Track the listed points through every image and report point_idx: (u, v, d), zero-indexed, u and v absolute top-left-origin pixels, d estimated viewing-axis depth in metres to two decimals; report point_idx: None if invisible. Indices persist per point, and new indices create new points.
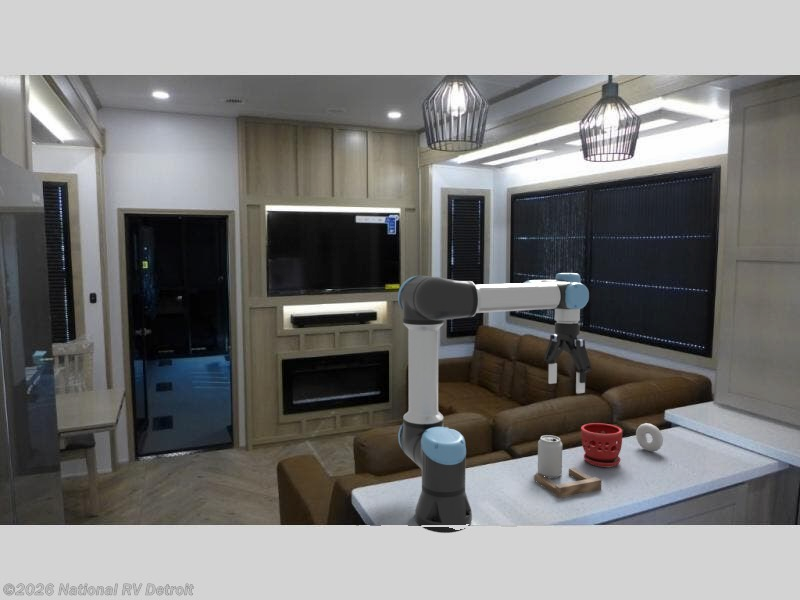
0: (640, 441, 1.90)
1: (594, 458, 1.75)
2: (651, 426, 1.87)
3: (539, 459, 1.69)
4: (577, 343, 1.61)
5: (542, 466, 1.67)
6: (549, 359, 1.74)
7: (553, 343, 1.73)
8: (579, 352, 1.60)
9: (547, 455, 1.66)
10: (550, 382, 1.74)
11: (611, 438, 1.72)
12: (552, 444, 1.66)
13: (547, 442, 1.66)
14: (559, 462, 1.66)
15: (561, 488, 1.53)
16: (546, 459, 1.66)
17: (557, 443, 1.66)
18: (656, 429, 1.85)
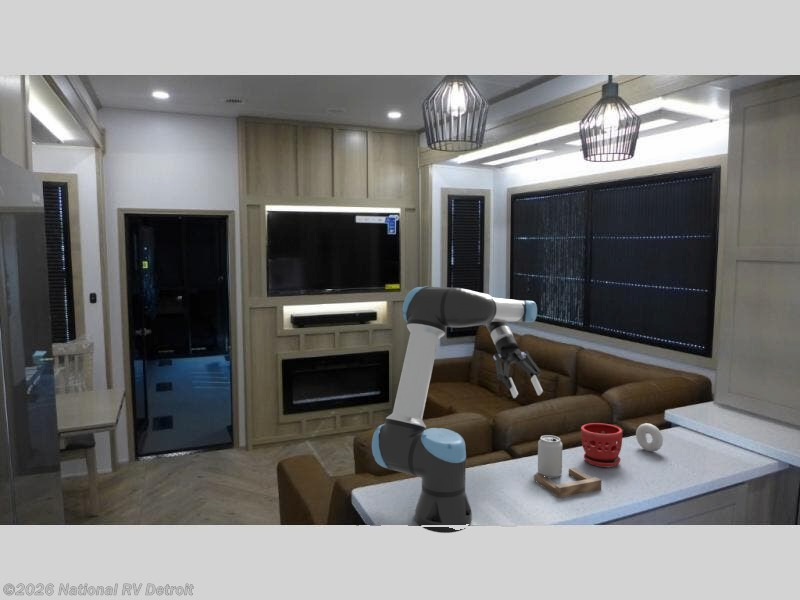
0: (640, 441, 1.90)
1: (594, 458, 1.75)
2: (651, 426, 1.87)
3: (539, 459, 1.69)
4: (527, 353, 1.90)
5: (542, 466, 1.67)
6: (507, 373, 1.82)
7: None
8: (531, 359, 1.89)
9: (547, 455, 1.66)
10: None
11: (611, 438, 1.72)
12: (552, 444, 1.66)
13: (547, 442, 1.66)
14: (559, 462, 1.66)
15: (561, 488, 1.53)
16: (546, 459, 1.66)
17: (557, 443, 1.66)
18: (656, 429, 1.85)
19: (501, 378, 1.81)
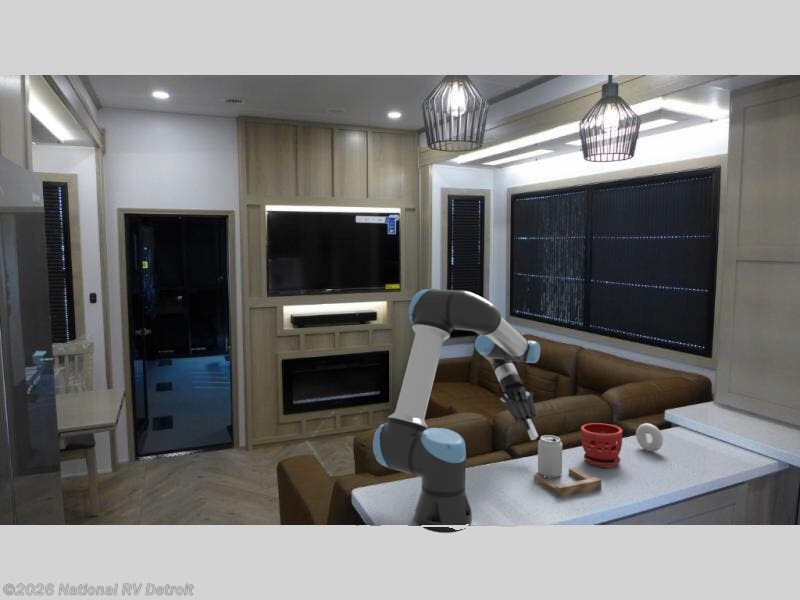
0: (640, 441, 1.90)
1: (594, 458, 1.75)
2: (651, 426, 1.87)
3: (539, 459, 1.69)
4: (531, 394, 1.88)
5: (542, 466, 1.67)
6: (523, 415, 1.82)
7: None
8: (532, 401, 1.87)
9: (547, 455, 1.66)
10: None
11: (611, 438, 1.72)
12: (552, 444, 1.66)
13: (547, 442, 1.66)
14: (559, 462, 1.66)
15: (561, 488, 1.53)
16: (546, 459, 1.66)
17: (557, 443, 1.66)
18: (656, 429, 1.85)
19: (519, 420, 1.81)
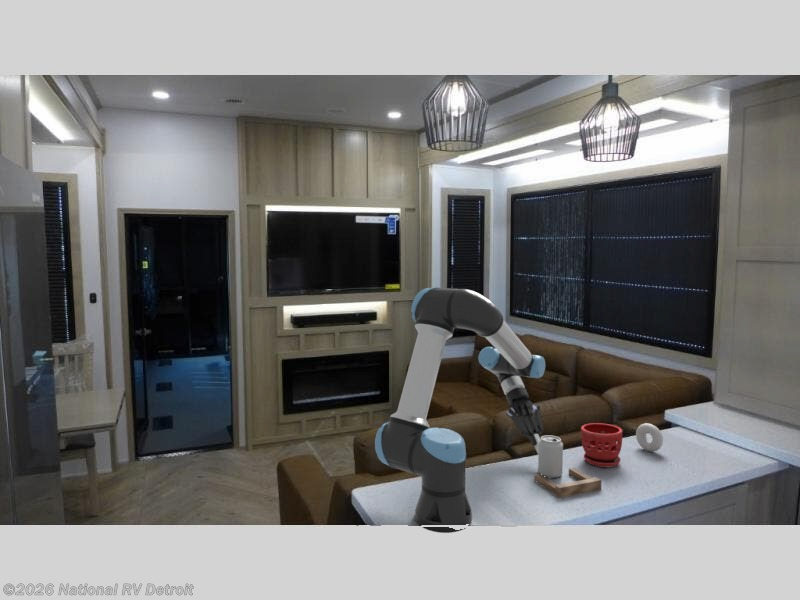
0: (640, 441, 1.90)
1: (594, 458, 1.75)
2: (651, 426, 1.87)
3: (539, 459, 1.68)
4: (538, 408, 1.84)
5: (543, 466, 1.67)
6: (530, 429, 1.78)
7: None
8: (539, 415, 1.82)
9: (548, 456, 1.66)
10: None
11: (611, 438, 1.72)
12: (552, 444, 1.66)
13: (547, 442, 1.66)
14: (559, 462, 1.66)
15: (561, 488, 1.53)
16: (546, 459, 1.66)
17: (557, 443, 1.66)
18: (656, 429, 1.85)
19: (526, 434, 1.77)
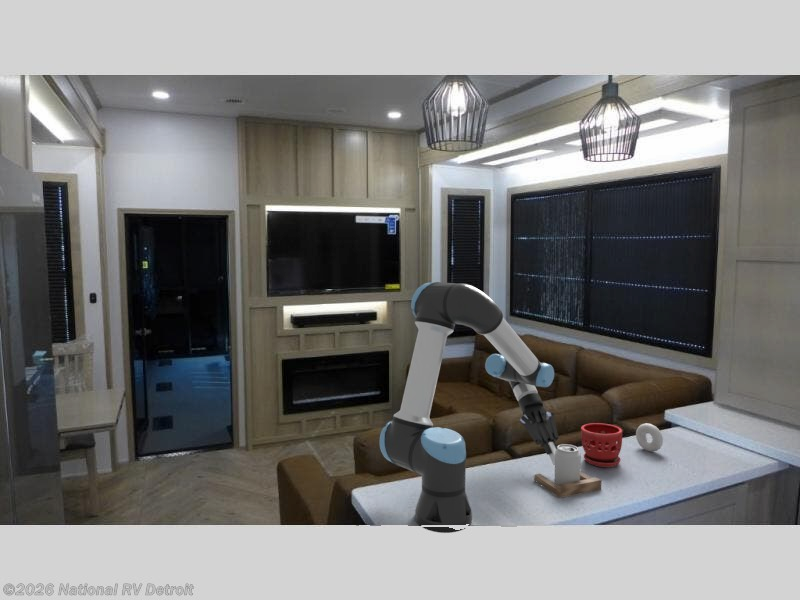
0: (640, 441, 1.90)
1: (594, 458, 1.75)
2: (651, 426, 1.87)
3: (556, 470, 1.60)
4: (553, 415, 1.76)
5: (561, 477, 1.59)
6: (544, 437, 1.69)
7: None
8: (553, 422, 1.74)
9: (566, 466, 1.58)
10: None
11: (611, 438, 1.72)
12: (571, 454, 1.58)
13: (565, 452, 1.58)
14: (578, 473, 1.58)
15: (561, 488, 1.53)
16: (564, 469, 1.58)
17: (576, 453, 1.58)
18: (656, 429, 1.85)
19: (540, 443, 1.69)
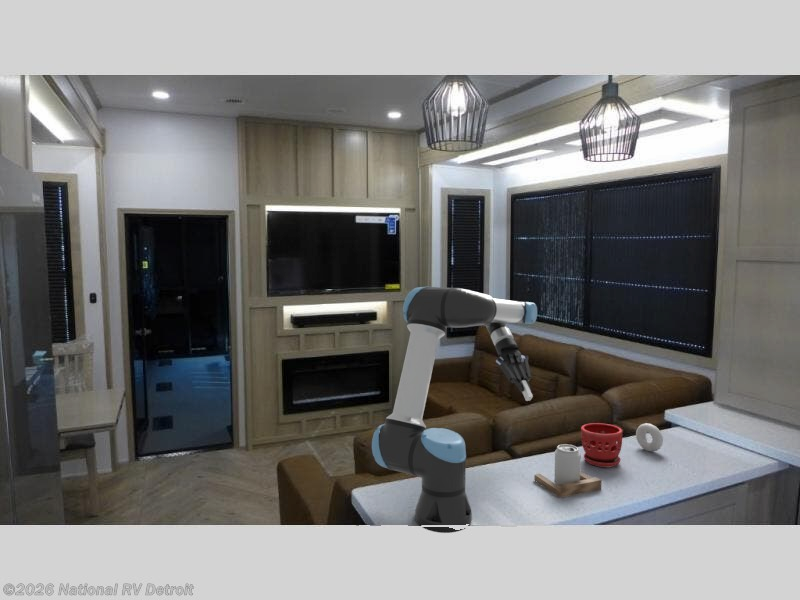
0: (640, 441, 1.90)
1: (594, 458, 1.75)
2: (651, 426, 1.87)
3: (556, 470, 1.60)
4: (527, 357, 1.89)
5: (560, 477, 1.59)
6: (518, 376, 1.83)
7: None
8: (527, 364, 1.88)
9: (566, 466, 1.58)
10: None
11: (611, 438, 1.72)
12: (571, 454, 1.58)
13: (565, 452, 1.58)
14: (578, 473, 1.58)
15: (561, 488, 1.53)
16: (564, 469, 1.58)
17: (576, 453, 1.58)
18: (656, 429, 1.85)
19: (513, 381, 1.82)
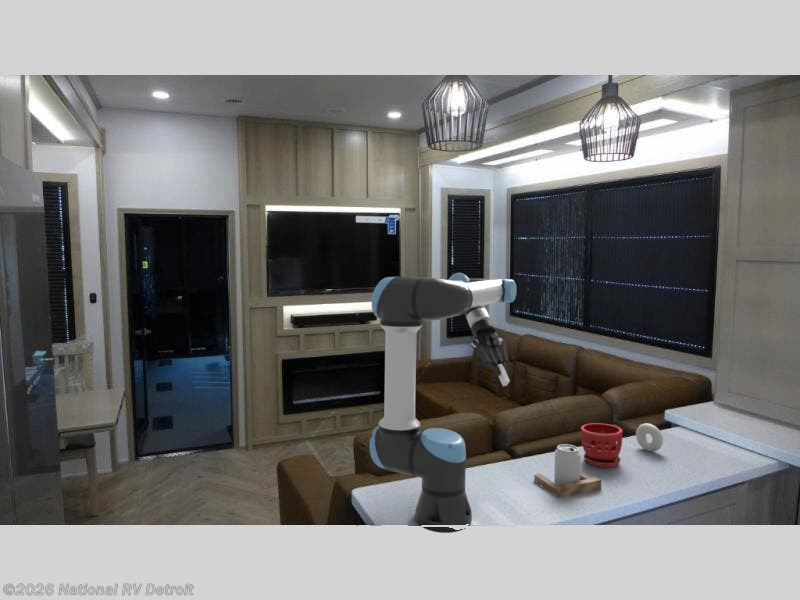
0: (640, 441, 1.90)
1: (594, 458, 1.75)
2: (651, 426, 1.87)
3: (556, 470, 1.60)
4: (504, 340, 1.77)
5: (560, 477, 1.59)
6: (494, 360, 1.70)
7: None
8: (505, 347, 1.75)
9: (566, 466, 1.58)
10: None
11: (611, 438, 1.72)
12: (571, 454, 1.58)
13: (565, 452, 1.58)
14: (578, 473, 1.58)
15: (561, 488, 1.53)
16: (564, 469, 1.58)
17: (576, 453, 1.58)
18: (656, 429, 1.85)
19: (489, 365, 1.69)
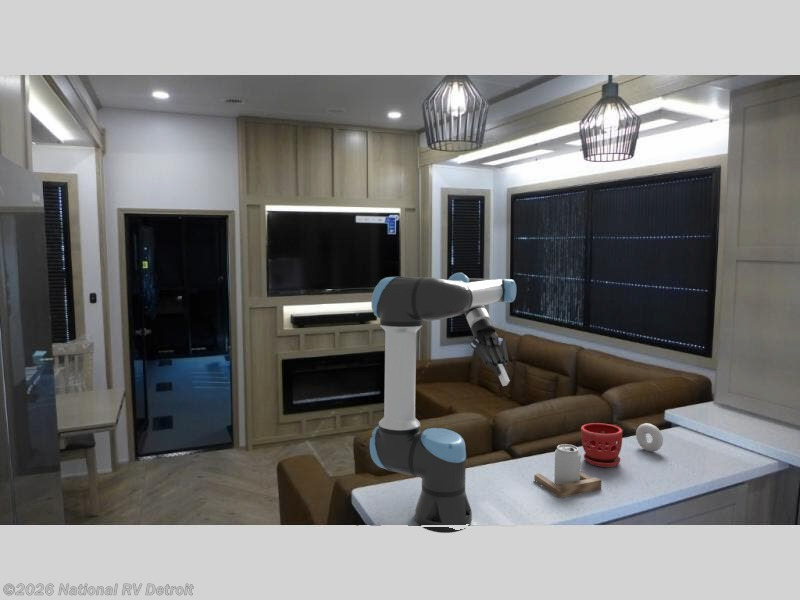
0: (640, 441, 1.90)
1: (594, 458, 1.75)
2: (651, 426, 1.87)
3: (556, 470, 1.60)
4: (504, 340, 1.77)
5: (560, 477, 1.59)
6: (494, 360, 1.70)
7: None
8: (505, 347, 1.75)
9: (566, 466, 1.58)
10: None
11: (611, 438, 1.72)
12: (571, 454, 1.58)
13: (565, 452, 1.58)
14: (578, 473, 1.58)
15: (561, 488, 1.53)
16: (564, 469, 1.58)
17: (576, 453, 1.58)
18: (656, 429, 1.85)
19: (489, 365, 1.69)
